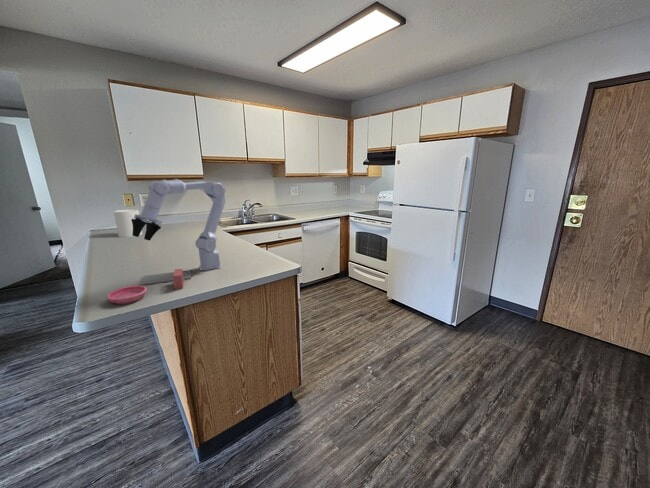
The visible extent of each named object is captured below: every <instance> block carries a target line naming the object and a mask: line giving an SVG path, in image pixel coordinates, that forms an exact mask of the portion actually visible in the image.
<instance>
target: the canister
mask: <svg viewBox="0 0 650 488" xmlns="http://www.w3.org/2000/svg"><path fill="white" fill-rule="evenodd" d="M135 214H137V215H140V211H139V209H118V210H114V211H113V216H114V220H115V225H116V230H117V235H118V237H119V238H130V237H131V238H132V237H134V236H132V234H133V225H132V221H131V219H135V218H134V216H135ZM142 235H143V229H142V230H141V233H140V235H139V236H142Z"/></svg>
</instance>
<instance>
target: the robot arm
mask: <svg viewBox="0 0 650 488" xmlns="http://www.w3.org/2000/svg"><path fill="white" fill-rule="evenodd" d="M186 190H200V191H203V193H205V194H206V195H207V196H208V198H210V200H211V201H212V205H211V208H210V211H209V214H208V216H207V217H208V218H207V221H206V223H205V226H204V229H203V231H202V232H201V233H200V234H199V237H198V238H197V239H196V240H195V247H196V248H197V249H198V254H199V255H198V256H199V264H200V265H199V271H207V270H214V269H220V268H221V260H220V253H219V250H218V249H216V248H217V240H218V239H217V236H216V232H217V230H218V227H219V226H218V225H219V223H220V220H221V216H222V213H223V210H224V208H225V204H226V196H225V194H226V188H225V187H224V185H223V184H222V183H221V182H213V181H192V182H184V181H182V180H181V179H178V178H174V179H172V180H167V179H162V180H157V181H156V180H155V181H151V182H150V183H149V184H148V194H147V197H146V200H145V203H144V205H143V208H142V211H141V213H140V214H139V215H137V214H135V216H134V218H135V219H131V221H132V225H133V234H132V236H133V237H137V238H138V237H140V236H141V235H140V233H141V230H142V231H143V228H144V227H145V226H146V229H145V234H144V237H143V238H144V240H146V241H151V240H152V238H153V237H154V236H155V234H156V233H157V232H158V231H159V230H160V229H161V228H162V226H161V225H162V223H163V221H162V220H159V219H157V218H158V216H159V213H160V209H161V207H162V204H163V201H164V199H165V196H166V195H172V194H174V195H175V194H182V193H184V192H185V191H186Z"/></svg>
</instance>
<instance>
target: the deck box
mask: <svg viewBox="0 0 650 488" xmlns="http://www.w3.org/2000/svg"><path fill="white" fill-rule="evenodd" d="M183 271H184V269H183V268H177V269H174V271H173V272H174V274H173V280H174V281H173V284H174V290H180V289H181V290H182V289H184V286H185V285H184V284H185V280H184V276H183Z"/></svg>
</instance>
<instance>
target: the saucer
mask: <svg viewBox="0 0 650 488" xmlns="http://www.w3.org/2000/svg"><path fill="white" fill-rule="evenodd" d="M147 291H148V288H147V287H146V285H142V286H139V284H138V285H130V286H125V287H120V288H118V289H115V290H113V291H111V292H109V293H108V294H107V296H106V298H107V300H108V301H109V302H111V303H113V304H115V303H116V305H126V304H125V303H127V304H131V303H130V302H132V303H135V302H137V301H139V299H140V300H142V298H144V296H145V295H146V293H147ZM134 301H135V302H134Z"/></svg>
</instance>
